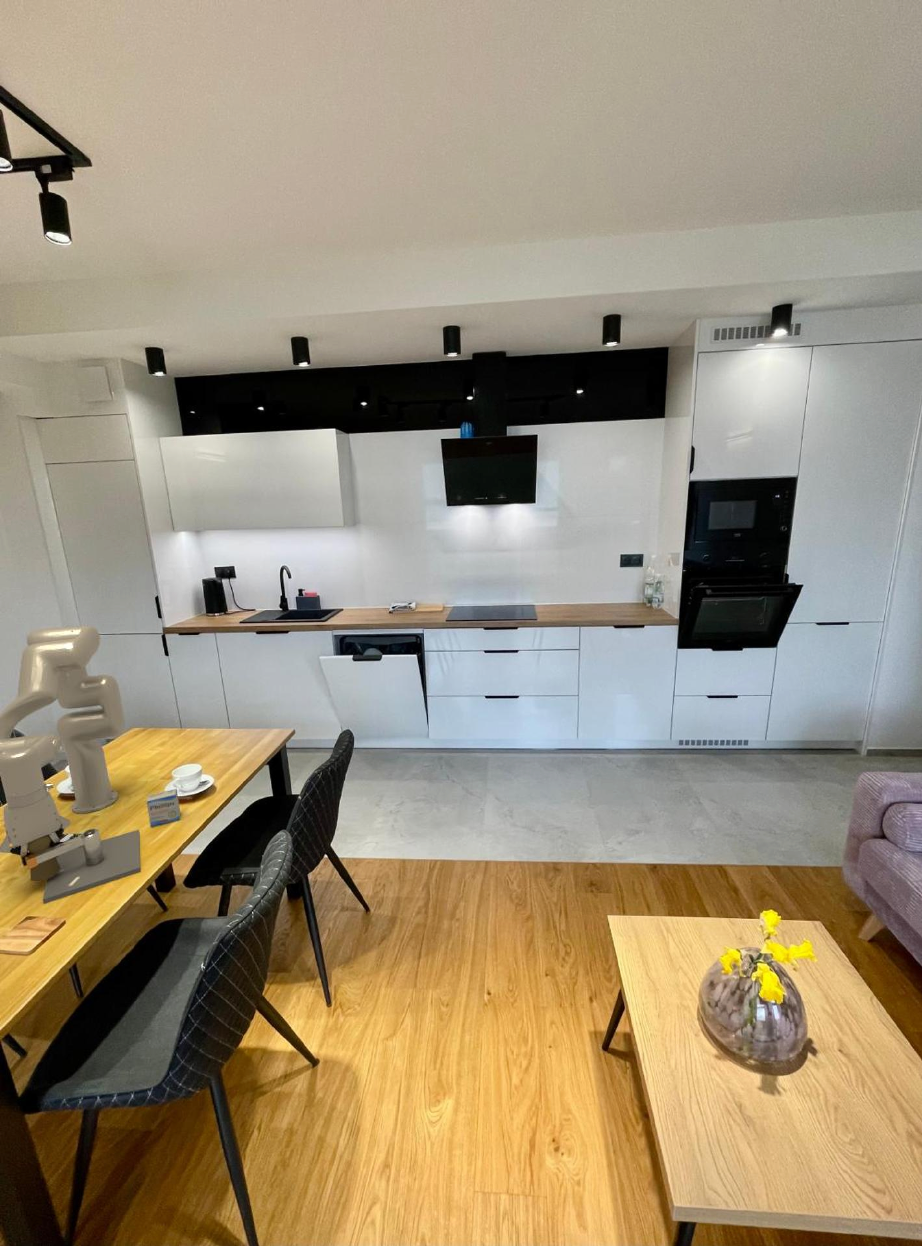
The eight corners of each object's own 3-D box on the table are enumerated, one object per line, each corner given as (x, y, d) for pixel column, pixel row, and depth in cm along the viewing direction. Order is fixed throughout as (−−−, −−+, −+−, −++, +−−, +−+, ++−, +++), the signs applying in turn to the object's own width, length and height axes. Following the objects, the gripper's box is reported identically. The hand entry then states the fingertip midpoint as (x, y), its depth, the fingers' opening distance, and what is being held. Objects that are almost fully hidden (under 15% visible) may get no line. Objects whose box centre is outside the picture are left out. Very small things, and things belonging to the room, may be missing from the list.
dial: (101, 853, 140) (96, 825, 138) (106, 859, 137) (100, 831, 135) (30, 884, 129) (23, 854, 127) (34, 891, 126) (27, 861, 124)
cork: (51, 879, 129) (42, 841, 126) (24, 883, 128) (14, 844, 125) (65, 863, 135) (56, 826, 132) (40, 867, 134) (30, 829, 131)
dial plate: (54, 858, 140) (53, 854, 140) (139, 833, 151) (138, 828, 150) (43, 903, 124) (42, 898, 124) (140, 871, 134) (139, 866, 134)
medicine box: (150, 828, 153) (145, 802, 151) (151, 820, 157) (147, 794, 155) (180, 820, 157) (176, 794, 155) (180, 813, 161) (176, 788, 159)
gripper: (63, 777, 135) (76, 838, 139) (-23, 807, 122) (-5, 873, 126) (73, 785, 131) (86, 848, 135) (-15, 818, 118) (3, 886, 122)
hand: (42, 860), depth 130 cm, fingers closed on cork, 4 cm apart
